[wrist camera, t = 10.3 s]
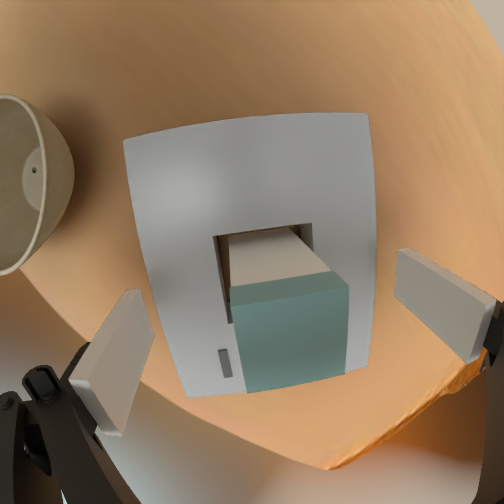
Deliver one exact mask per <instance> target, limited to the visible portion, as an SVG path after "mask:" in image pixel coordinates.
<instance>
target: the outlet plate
mask: <svg viewBox="0 0 504 504" xmlns="http://www.w3.org/2000/svg"><path fill="white" fill-rule="evenodd" d="M123 147H124V155H125V163H126V170H127V177H128V183H129V189H130V195H131V201H132V207H133V212H134V217H135V222H136V227H137V232H138V237H139V241H140V246H141V250H142V255H143V259H144V263H145V267H146V271H147V275H148V279H149V283H150V287H151V290H152V294H153V298H154V301H155V305H156V308H157V312H158V315H159V319H160V322H161V325H162V328H163V332H164V335H165V338H166V341H167V344H168V347H169V350H170V353H171V356H172V359H173V362H174V364H175V367H176V370H177V373H178V376H179V378H180V381H181V384H182V386H183V389H184V392H185V394H186V397H187V398H192V397H205V396H216V395H226V394H235V393H243V392H247V391H246V386H245V381H244V376H243V371H242V366H241V361H240V356H239V350H238V345H237V340H236V335H235V329H234V324H233V318H232V313H231V307H230V302H227V297H226V291H225V285H224V280H223V274H222V268H221V262H220V256H219V250H218V244H217V238H216V236H217V235H224V234H231V233H238V232H245V231H252V230H259V229H266V228H274V227H281V226H289V225H296V224H300V233H301V240H302V241H303V242H304V243H305V244H306V245H307V246H308V247H309V248H310V249H311V250H312V251H313V252H314V253H315V254H316V255H317V256H318V257H319V258H320V259H321V260H322V262H323V263H324V264H325V265H326V266H327V267H328V268H329V269H330V270H331V271H333V270H334V271H335V272H336V273H337V274H338V275H339V276H340V277H341V278H342V279H343V280H344V281H345V282H346V283H347V285H348V286H349V318H348V338H347V353H346V365H345V372H348V371H352V370H356V369H359V368H363V367H366V366H367V364H368V357H369V349H370V341H371V332H372V321H373V310H374V296H375V277H376V199H375V180H374V166H373V155H372V145H371V136H370V128H369V120H368V113H346V112H322V113H292V114H276V115H263V116H252V117H243V118H234V119H226V120H219V121H212V122H206V123H199V124H193V125H188V126H182V127H177V128H172V129H167V130H162V131H157V132H153V133H148V134H144V135H140V136H136V137H132V138H128V139H124V140H123Z"/></svg>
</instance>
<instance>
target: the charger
mask: <svg viewBox="0 0 504 504" xmlns="http://www.w3.org/2000/svg"><path fill="white" fill-rule="evenodd" d="M229 258H230V278H231V287H230V307H231V313H232V318H233V324H234V329H235V335H236V340H237V345H238V350H239V356H240V361H241V366H242V371H243V376H244V381H245V386H246V391H247V393H253V392H260V391H266V390H272V389H278V388H283V387H289V386H294V385H299V384H304V383H309V382H313V381H318V380H322V379H326V378H330V377H335V376H338V375H342V374H345V365H346V353H347V338H348V318H349V286H348V285H347V283H346V282H345V281H344V280H343V279H342V278H341V277H340V276H339V275H338V274H337V273H336V272H335V271H334V270H333V271H331V270H330V269H329V268H328V267H327V266H326V265H325V264H324V263H323V262H322V260H321V259H320V258H319V257H318V256H317V255H316V254H315V253H314V252H313V251H312V250H311V249H310V248H309V247H308V246H307V245H306V244H305V243H304V242H303V241H302V240H301V239H300V238H299V237H298V236H297V235H296V234H295V233H294V232H293V231H292V230H291V229H290V228H289V227H286V228H279V229H271V230H264V231H257V232H250V233H243V234H236V235H229Z"/></svg>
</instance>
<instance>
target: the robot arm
mask: <svg viewBox="0 0 504 504" xmlns="http://www.w3.org/2000/svg"><path fill="white" fill-rule="evenodd" d="M394 297H395V298H396V299H398V300H399V301H400V302H401V303H402V304H403V305H404V306H405V307H407V308H408V309H409V310H410V311H411V312H412V313H413V314H414V315H415V316H417V317H418V318H419V319H420V320H421V321H422V322H423V323H424V324H425V325H426V326H427V327H429V328H430V329H431V330H432V331H433V332H434V333H435V334H436V335H437V336H438V337H439V338H440V339H441V340H442V341H443V342H444V343H445V344H447V345H448V346H449V347H450V348H451V349H452V350H453V351H454V352H455V353H456V354H457V355H458V356H459V357H460V358H461V359H462V360H463V361H464V362H465V363H466V364H469V363H471V362H472V361H474V360H476V359H478V358H479V355H480V353H481V350H482V347H483V346H484V347H485V348H486V349H487V352H486V355H485V357H484V360H483V362H482V365H481V367H480V371H479V372H482V369H483V368H484V367H485V366H486V369H485V372H486V386H487V415H486V434H485V446H484V455H483V463H482V469H481V476H480V481H479V487H478V491H477V494H476V497H475V499H474V500H473V502H472V503H471V504H504V301H503V303H501V302H500V301H498V300H497V299H495V298H494V297H492V296H490V295H489V294H487V293H486V292H484V291H482V290H481V289H479V288H477V287H476V286H475V285H473V284H471V283H470V282H468V281H466V280H464V279H463V278H461V277H459V276H458V275H456V274H454V273H453V272H451V271H449V270H448V269H446V268H444V267H442V266H441V265H439V264H437V263H435V262H434V261H432V260H430V259H428V258H427V257H425V256H423V255H421V254H419V253H418V252H416V251H414V250H412V249H410V248H403V249H397V264H396V278H395V290H394ZM154 336H155V335H154V332H153V329H152V326H151V323H150V320H149V317H148V314H147V311H146V307H145V304H144V301H143V297H142V294H141V291H140V288H139V289H131V290H126V291H125V292H124V294H123V295H122V297H121V298H120V299H119V301H118V302H117V304H116V305H115V307H114V308H113V310H112V311H111V312H110V314H109V315H108V317H107V318H106V320H105V321H104V323H103V324H102V326H101V327H100V329H99V330H98V332H97V334H96V335H95V337H94V338H93V340H92V341H91V342H87V343H86V344H85V345H83V346H82V347H81V348H80V349H79V350H78V352H77V353H76V355H75V356H74V358H73V360H72V361H71V362H70V365H69V366H68V367H67V369H66V370H65V372H64V374H63V375H62V377H61V378H60V380H59V379H58V377H57V375H56V374H55V372H54V370H53V369H52V367H51V366H48V365H40V366H37V367H35V368H33V369H31V370H30V371H29V372H28V373H27V374H25V376H24V378H23V380H22V385H23V386H24V388H25V389H26V391H27V392H28V394H29V395H30V397H31V398H32V400H30V401H22V399H21V398H20V397H19V395H18V394H17V393H16V392H14V391H8V392H6V393H3V394H2V395H0V504H63V498H62V493H61V490H62V492H63V494H64V497H65V499H66V501H67V504H141V502H140V501H139V500H138V498H137V497H136V496H135V494H134V493H133V492H132V490H131V489H130V487H129V486H128V485H127V483H126V482H125V480H124V479H123V477H122V476H121V474H120V473H119V471H118V470H117V468H116V467H115V465H114V463H113V462H112V460H111V459H110V457H109V455H108V454H107V452H106V450H105V449H104V447H103V445H102V443H101V441H100V440H99V438H98V436H97V435H96V434H95V433H94V432H95V430H96V427H97V425H98V426H99V427H100V429H101V430H102V432H103V433H104V434H105V435H114V436H123V433H124V429H125V426H126V422H127V419H128V416H129V412H130V409H131V406H132V403H133V399H134V396H135V393H136V390H137V387H138V384H139V380H140V377H141V374H142V371H143V368H144V365H145V362H146V359H147V356H148V354H149V351H150V348H151V345H152V342H153V339H154ZM24 447H25V450H24Z"/></svg>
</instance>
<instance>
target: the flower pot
mask: <svg viewBox="0 0 504 504" xmlns="http://www.w3.org/2000/svg"><path fill="white" fill-rule="evenodd" d="M33 171H35V173H34V172H33ZM74 179H75V169H74V162H73V158H72V155H71V152H70V149H69V147H68V145H67V143H66V141H65V139H64V137H63V136H62V134H61V133H60V131H59V130H58V129H57V127H56V126H55V125H54V124H53V123H52V121H51V120H50V119H49V118H48V117H46V116H45V115H44V114H43V113H42V112H41V111H39V110H38V109H37V108H35V107H34V106H33V105H31V104H30V103H28V102H26V101H25V100H23V99H20V98H18V97H16V96H13V95H8V94H7V95H6V94H4V95H0V275H5V274H8V273H11V272H13V271H14V270H16V269H17V268H18V267H20V266H21V265H22V264H23V263H25V262H26V261H27V260H28V259H29V258H30V257H31V256H32V255H33V254H34V253H35V252H36V251H37V250H38V249H39V248H40V247H41V245H42V244H43V243H44V242H45V241H46V240H47V238H48V237H49V236H50V234H51V233H52V232H53V230H54V229H55V227H56V226H57V224H58V223H59V221H60V219H61V218H62V216H63V214H64V212H65V210H66V208H67V206H68V203H69V201H70V198H71V195H72V191H73V186H74Z"/></svg>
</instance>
